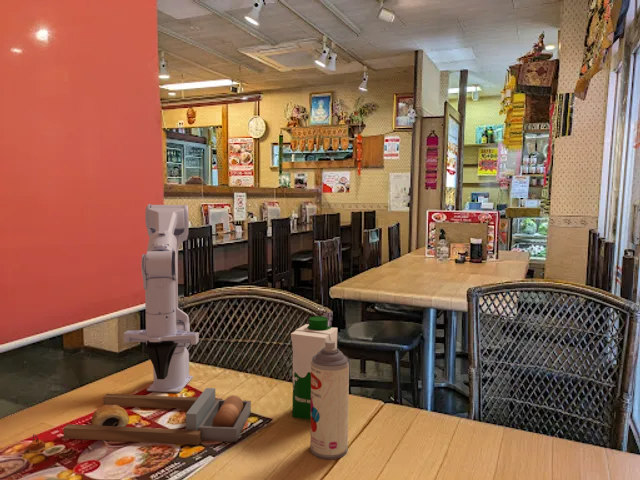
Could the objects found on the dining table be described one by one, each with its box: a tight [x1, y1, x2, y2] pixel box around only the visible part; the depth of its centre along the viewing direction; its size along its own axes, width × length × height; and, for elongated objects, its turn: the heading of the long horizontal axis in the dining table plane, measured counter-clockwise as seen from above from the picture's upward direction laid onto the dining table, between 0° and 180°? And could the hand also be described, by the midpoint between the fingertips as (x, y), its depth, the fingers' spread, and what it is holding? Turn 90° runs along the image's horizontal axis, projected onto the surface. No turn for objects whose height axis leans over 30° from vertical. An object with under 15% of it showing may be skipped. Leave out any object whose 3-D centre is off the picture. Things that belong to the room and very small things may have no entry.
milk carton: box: [290, 315, 338, 421], centre depth 98 cm, size 9×9×20 cm
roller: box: [213, 395, 243, 427], centre depth 92 cm, size 8×4×4 cm, turn 176°
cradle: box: [198, 399, 252, 443], centre depth 93 cm, size 12×7×2 cm, turn 176°
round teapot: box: [27, 434, 46, 453], centre depth 84 cm, size 3×3×3 cm
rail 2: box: [62, 423, 202, 446], centre depth 87 cm, size 2×26×2 cm, turn 86°
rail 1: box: [102, 393, 223, 410], centre depth 101 cm, size 2×26×2 cm, turn 86°
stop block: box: [185, 387, 216, 430], centre depth 93 cm, size 12×2×5 cm, turn 176°
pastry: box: [90, 404, 130, 427], centre depth 94 cm, size 9×7×4 cm
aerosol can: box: [309, 340, 350, 460], centre depth 84 cm, size 7×7×20 cm
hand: (162, 377), depth 93 cm, fingers closed
